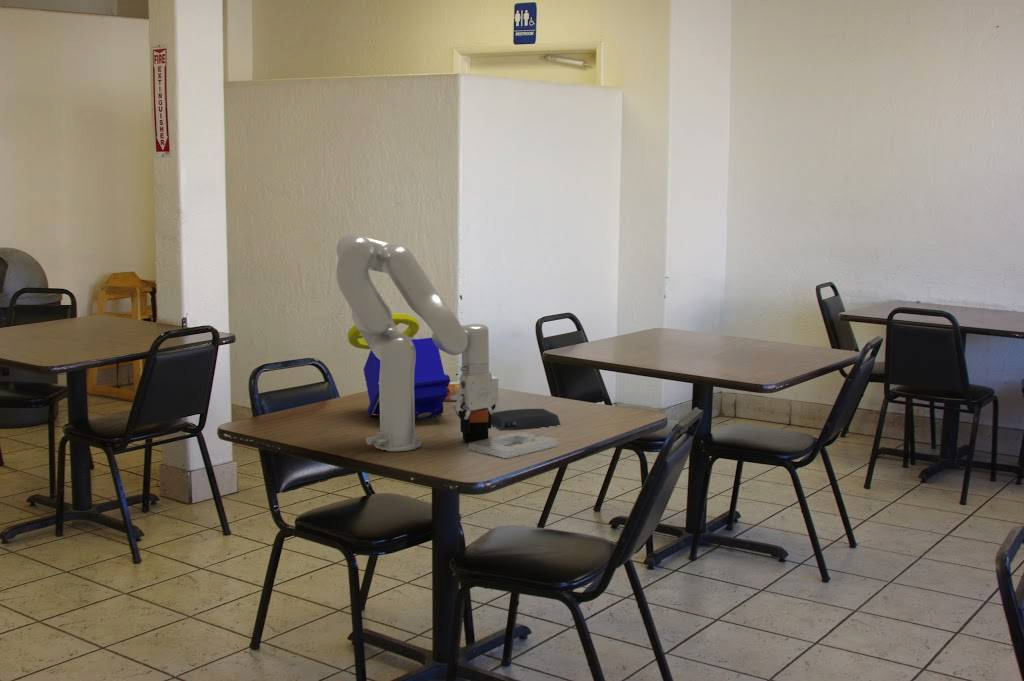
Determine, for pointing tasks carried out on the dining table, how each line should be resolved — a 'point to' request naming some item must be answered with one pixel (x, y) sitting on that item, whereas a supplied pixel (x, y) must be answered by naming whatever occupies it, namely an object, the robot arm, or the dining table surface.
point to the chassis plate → (526, 439)
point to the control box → (426, 374)
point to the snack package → (453, 391)
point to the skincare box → (495, 392)
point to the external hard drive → (523, 419)
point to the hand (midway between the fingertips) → (476, 429)
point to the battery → (477, 426)
